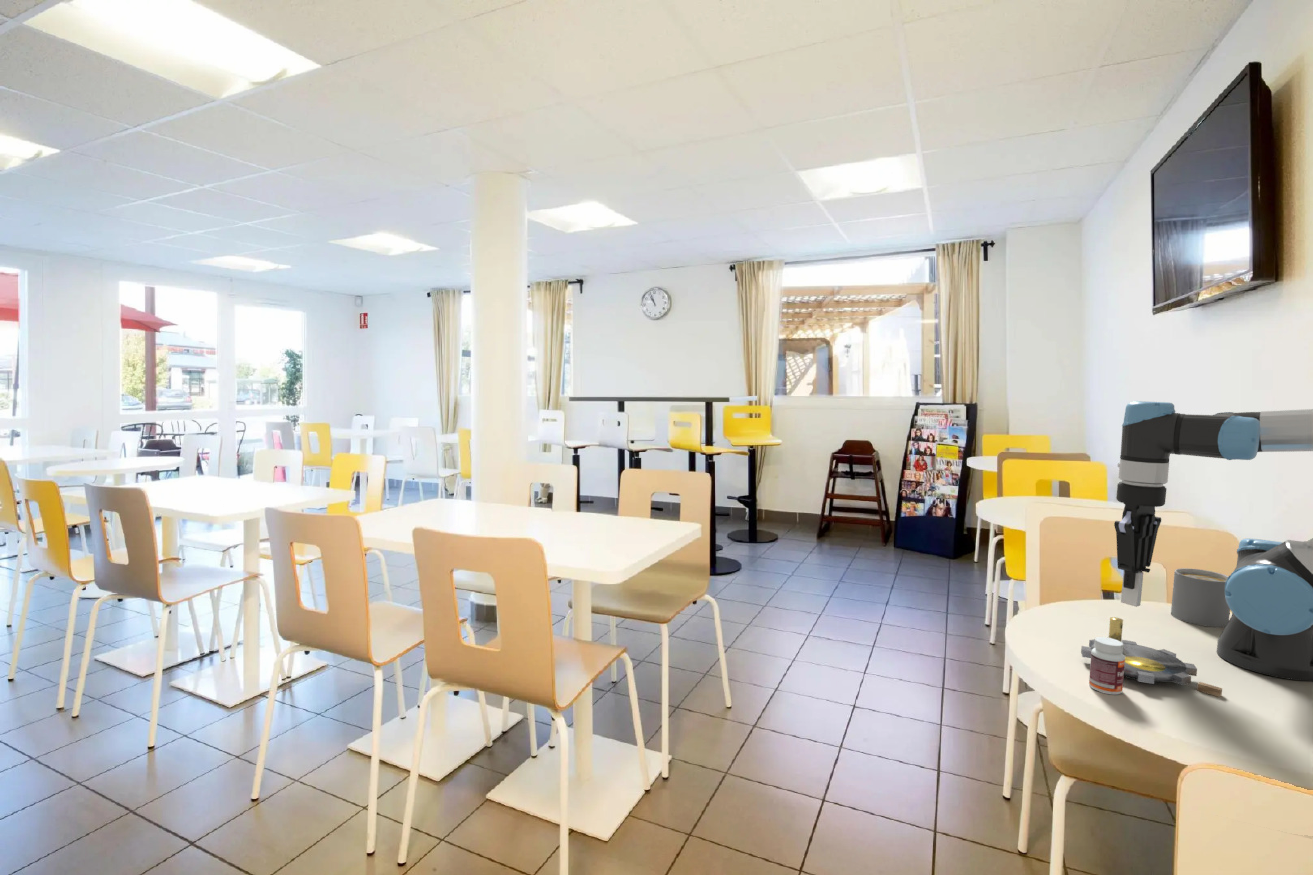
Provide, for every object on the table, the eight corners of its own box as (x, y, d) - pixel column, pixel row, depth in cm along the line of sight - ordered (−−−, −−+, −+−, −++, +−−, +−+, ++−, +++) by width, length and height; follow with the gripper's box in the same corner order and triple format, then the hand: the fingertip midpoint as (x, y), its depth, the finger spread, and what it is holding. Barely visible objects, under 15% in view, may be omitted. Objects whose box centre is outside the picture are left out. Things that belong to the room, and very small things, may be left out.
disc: (1182, 655, 124) (1185, 623, 124) (1208, 693, 109) (1211, 656, 109) (1076, 639, 132) (1079, 608, 131) (1087, 672, 117) (1090, 637, 116)
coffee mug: (1230, 630, 141) (1234, 584, 140) (1170, 619, 147) (1174, 575, 146) (1225, 613, 151) (1230, 570, 150) (1170, 603, 157) (1174, 562, 156)
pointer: (1197, 690, 113) (1197, 683, 113) (1199, 688, 114) (1199, 681, 114) (1219, 697, 111) (1220, 690, 111) (1221, 695, 112) (1222, 688, 111)
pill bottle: (1123, 698, 110) (1127, 649, 109) (1089, 690, 113) (1092, 642, 112) (1121, 686, 114) (1125, 639, 113) (1088, 679, 117) (1091, 633, 116)
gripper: (1136, 477, 132) (1126, 593, 135) (1102, 482, 126) (1091, 603, 128) (1181, 483, 126) (1169, 604, 128) (1147, 488, 120) (1135, 615, 122)
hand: (1130, 603), depth 128 cm, fingers closed
